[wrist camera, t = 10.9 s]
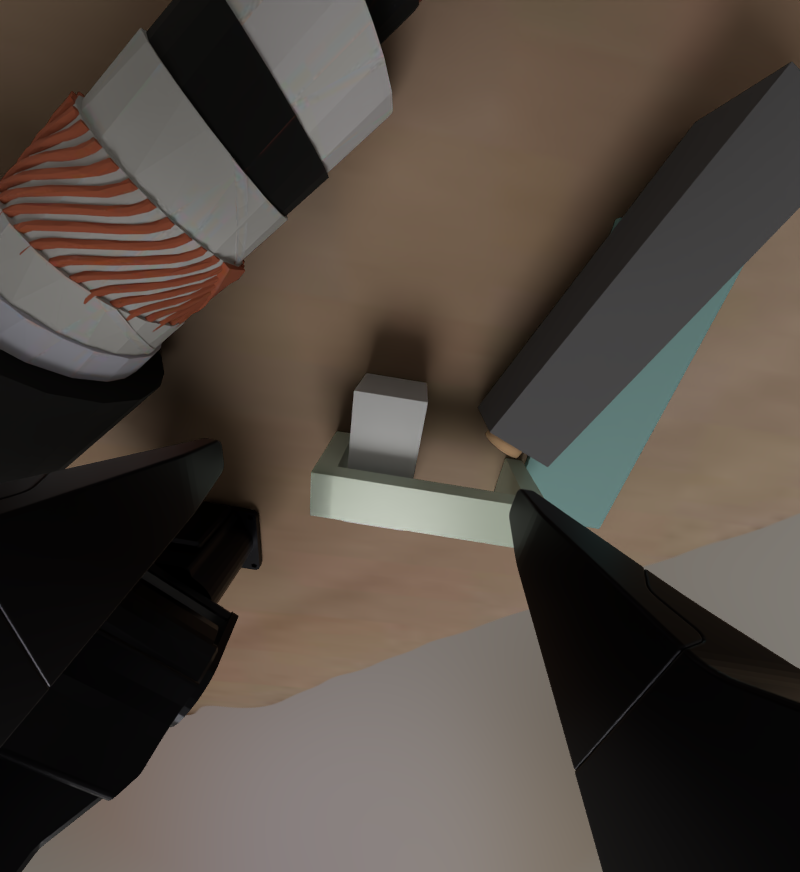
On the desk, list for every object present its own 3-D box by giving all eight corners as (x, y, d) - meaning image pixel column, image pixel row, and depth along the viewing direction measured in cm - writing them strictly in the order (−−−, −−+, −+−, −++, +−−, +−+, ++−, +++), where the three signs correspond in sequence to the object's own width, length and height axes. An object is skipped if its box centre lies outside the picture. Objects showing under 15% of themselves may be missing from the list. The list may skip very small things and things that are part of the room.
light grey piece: (509, 494, 23) (533, 550, 18) (334, 466, 23) (310, 515, 18) (521, 460, 22) (551, 510, 17) (336, 430, 22) (311, 472, 17)
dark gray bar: (518, 445, 21) (537, 477, 17) (470, 416, 20) (480, 443, 17) (771, 159, 14) (890, 112, 11) (711, 101, 13) (817, 30, 10)
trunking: (406, 494, 24) (403, 530, 20) (355, 486, 24) (343, 521, 20) (426, 382, 20) (427, 402, 16) (366, 373, 20) (354, 390, 16)
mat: (596, 525, 24) (599, 528, 24) (507, 510, 24) (508, 514, 24) (750, 240, 16) (757, 239, 15) (615, 219, 16) (620, 217, 15)
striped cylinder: (459, 95, 18) (579, 68, 11) (92, 420, 24) (19, 534, 17) (352, -281, 10) (502, -1075, 4) (-125, 323, 17) (-395, 449, 10)
